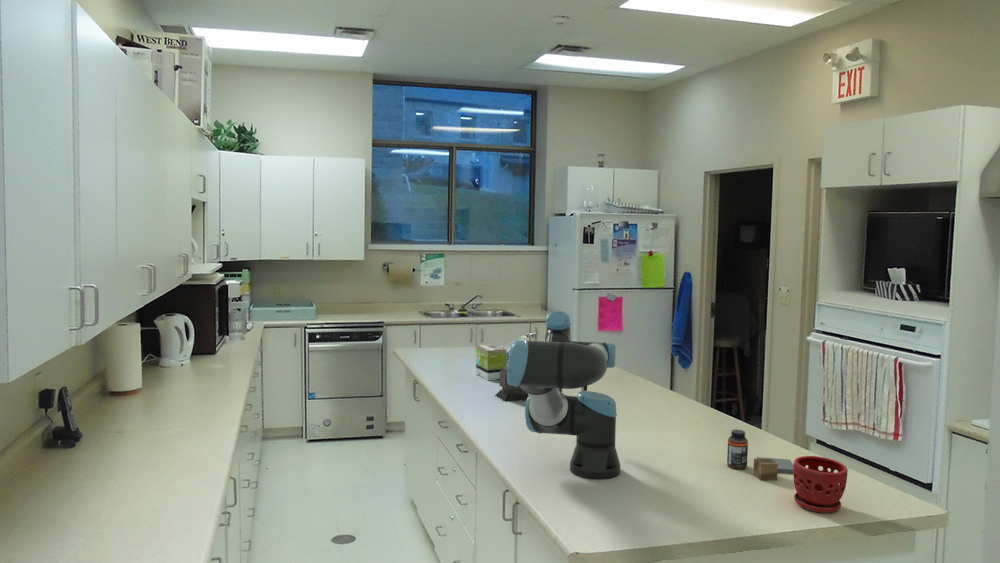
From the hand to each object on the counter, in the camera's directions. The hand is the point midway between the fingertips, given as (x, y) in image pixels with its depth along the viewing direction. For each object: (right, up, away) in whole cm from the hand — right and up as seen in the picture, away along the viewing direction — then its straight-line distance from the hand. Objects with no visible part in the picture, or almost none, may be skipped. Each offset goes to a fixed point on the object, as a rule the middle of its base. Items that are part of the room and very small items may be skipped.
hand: (563, 395), depth 249 cm
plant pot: (+63, -21, -55) cm, 87 cm away
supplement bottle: (+52, -19, -24) cm, 60 cm away
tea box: (-26, -7, +102) cm, 106 cm away
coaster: (+64, -19, -24) cm, 71 cm away
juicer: (-8, -11, +64) cm, 66 cm away
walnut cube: (+57, -19, -33) cm, 69 cm away
